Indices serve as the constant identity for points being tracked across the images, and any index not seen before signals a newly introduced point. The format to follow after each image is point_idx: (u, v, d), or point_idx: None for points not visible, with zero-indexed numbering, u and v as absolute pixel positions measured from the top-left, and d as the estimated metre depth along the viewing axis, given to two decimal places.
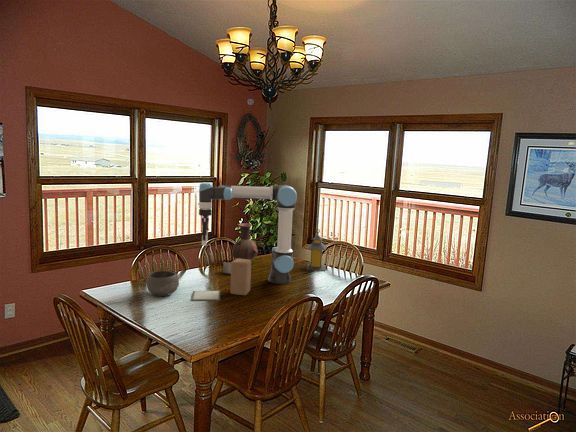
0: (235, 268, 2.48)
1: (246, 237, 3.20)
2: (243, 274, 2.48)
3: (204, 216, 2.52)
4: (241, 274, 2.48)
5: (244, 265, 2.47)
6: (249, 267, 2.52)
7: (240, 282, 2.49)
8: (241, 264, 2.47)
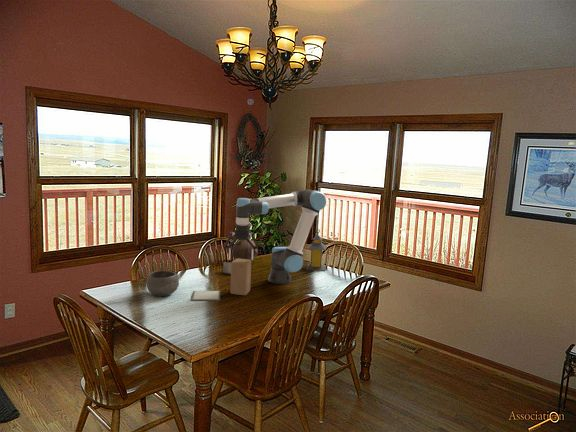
0: (235, 268, 2.48)
1: None
2: (243, 274, 2.48)
3: None
4: (241, 274, 2.48)
5: (244, 265, 2.47)
6: (249, 267, 2.52)
7: (240, 282, 2.49)
8: (241, 264, 2.47)
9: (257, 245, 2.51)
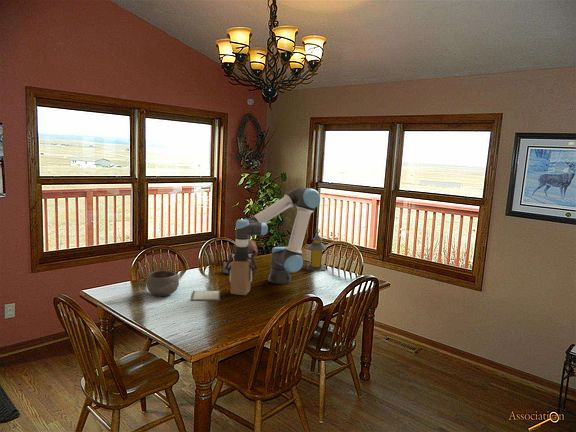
0: (235, 268, 2.48)
1: None
2: (243, 274, 2.48)
3: (235, 252, 2.51)
4: (241, 274, 2.48)
5: (244, 265, 2.47)
6: (249, 267, 2.52)
7: (240, 282, 2.48)
8: (241, 264, 2.47)
9: (256, 267, 2.53)
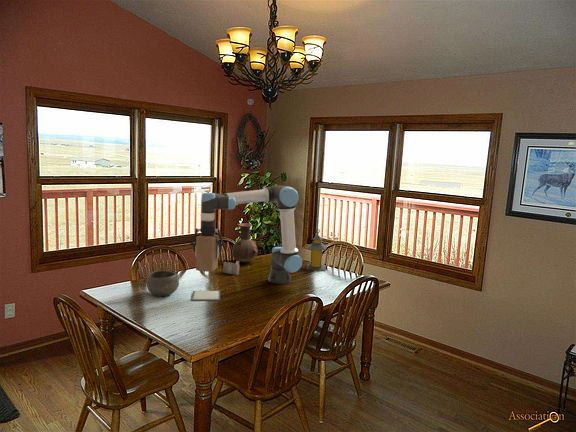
0: (200, 243, 2.37)
1: (246, 237, 3.20)
2: (209, 249, 2.36)
3: None
4: (207, 249, 2.37)
5: (210, 240, 2.36)
6: (215, 242, 2.41)
7: (206, 257, 2.37)
8: (207, 239, 2.36)
9: (223, 242, 2.42)
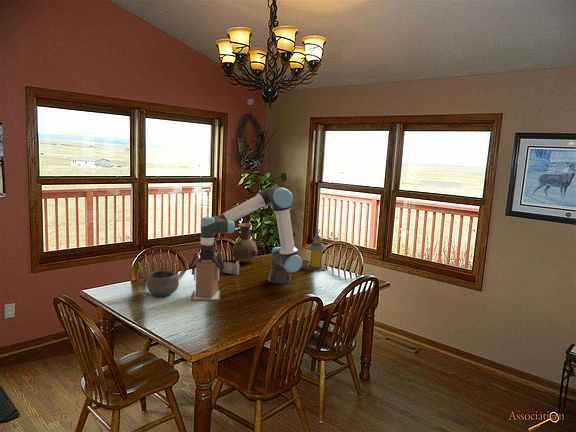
0: (200, 269, 2.39)
1: (246, 237, 3.20)
2: (208, 276, 2.39)
3: None
4: (207, 276, 2.39)
5: (209, 266, 2.38)
6: (215, 268, 2.43)
7: (206, 284, 2.40)
8: (206, 265, 2.38)
9: (223, 265, 2.44)
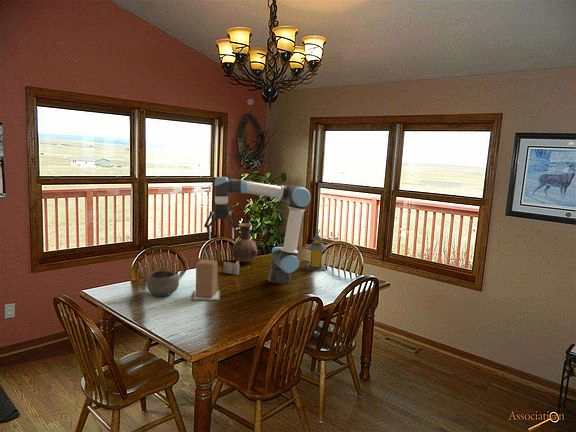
0: (200, 269, 2.39)
1: (246, 237, 3.20)
2: (208, 276, 2.39)
3: (215, 210, 2.48)
4: (207, 276, 2.39)
5: (209, 266, 2.38)
6: (215, 268, 2.43)
7: (206, 284, 2.40)
8: (206, 265, 2.38)
9: (237, 224, 2.50)
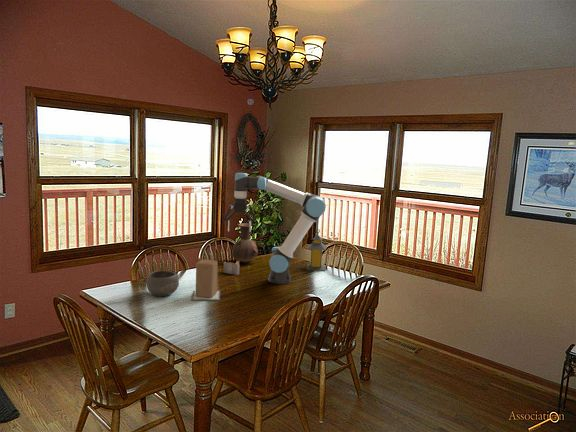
0: (200, 269, 2.39)
1: (246, 237, 3.20)
2: (208, 276, 2.39)
3: (234, 204, 2.63)
4: (207, 276, 2.39)
5: (209, 266, 2.38)
6: (215, 268, 2.43)
7: (206, 284, 2.40)
8: (206, 265, 2.38)
9: None
